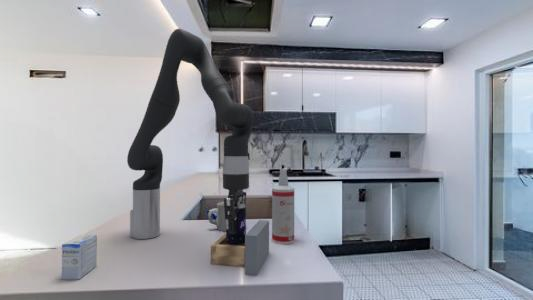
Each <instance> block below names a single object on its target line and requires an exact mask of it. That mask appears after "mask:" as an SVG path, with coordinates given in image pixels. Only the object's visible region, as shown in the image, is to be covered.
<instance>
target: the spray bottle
mask: <svg viewBox="0 0 533 300" xmlns="http://www.w3.org/2000/svg"><path fill="white" fill-rule="evenodd" d="M287 171H288V170H287V168H280V169H279V177H278V185H277V186H274V187H272V189H271V195H272V196H271V222H272V223H271V232H272V233H271V242H273V243H274V244H278V245H286V246H287V245H292V244H294V243H295V187H292V186H290V185H289V178H288V174H287V173H288V172H287Z"/></svg>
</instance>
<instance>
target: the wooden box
mask: <svg viewBox="0 0 533 300" xmlns="http://www.w3.org/2000/svg"><path fill="white" fill-rule="evenodd" d="M210 265H217V266H229V267H241V268H245V243H244V244H243V245H242V246H235V245H228V244H227V243H226V233H225V234H223V235H221V237H219V238H218V239H217V240H216V241H214V242H213V243H212V244H210Z"/></svg>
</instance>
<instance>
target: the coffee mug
mask: <svg viewBox="0 0 533 300" xmlns="http://www.w3.org/2000/svg"><path fill="white" fill-rule="evenodd" d="M216 207H217V208H211V209H210V210H209V211H208V214H207V219H208V222H209V223H210V224H212V225H215V226H216V230H217V231H219V232H223V233H226V219H225V211H224V201H221V202H218V203H217V204H216ZM213 214H216V218H215V219H213V218H212V215H213Z"/></svg>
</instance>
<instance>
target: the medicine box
mask: <svg viewBox="0 0 533 300" xmlns="http://www.w3.org/2000/svg"><path fill="white" fill-rule="evenodd" d="M97 237H98V236H97V235H96V234H80V235H78V236H75V237H74V238H72V239H70V240H68V241H67V242H64V243H62V245H61V280H63V281H66V280H67V281H71V280H72V281H73V280H81V279H82V278H83V277H85V276H86V275H88V273H90V271H92V270H93V269H94V268H96V267H97V258H98V257H97V255H98V253H97V250H98V249H97V247H98V243H97V242H98V239H97Z"/></svg>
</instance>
